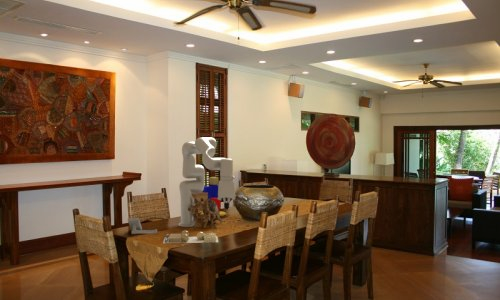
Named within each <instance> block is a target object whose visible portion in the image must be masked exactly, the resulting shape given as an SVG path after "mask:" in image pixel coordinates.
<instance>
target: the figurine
mask: <svg viewBox="0 0 500 300" xmlns="http://www.w3.org/2000/svg"><path fill="white" fill-rule="evenodd" d="M208 182H209V183H208V184H209V185H204V189H203V191H202V192H201V193H206V194H207V199H210V200H213V201H215V203H216V205H217V207H218V211H219V214H220V216H221V217H225V216H224V215H226V216H228V213H227V212H225V211H222V210H221V211H220V209H221V207H222V200H218V185H219V177H218V176H217V177H216V176H211V177H209V179H208ZM210 200H209V201H210ZM199 214H200V215H202V214H204V213H203V211H202V212H200V213H199Z"/></svg>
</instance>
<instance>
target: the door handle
mask: <svg viewBox="0 0 500 300" xmlns="http://www.w3.org/2000/svg"><path fill="white" fill-rule="evenodd" d="M127 222H128V224H129V227H130V229H131V235H132V236H133V235H139V234H140V235H141V234H142V235H143V234H145V235H147V234H158V229H151V230H150V229H148V230H146V229H143V227H142V224H141V221H140V218H139V217H133V218H132V217H130V218H127Z"/></svg>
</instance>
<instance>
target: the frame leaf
mask: <svg viewBox="0 0 500 300" xmlns="http://www.w3.org/2000/svg"><path fill="white" fill-rule="evenodd" d="M189 237H190V233H189V231H188V230H186V229H184V230H182V232H181V233H170V234H169V243H168V244H174V243H173V242H181V241H182V242H187V241H188V239H189Z"/></svg>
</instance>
